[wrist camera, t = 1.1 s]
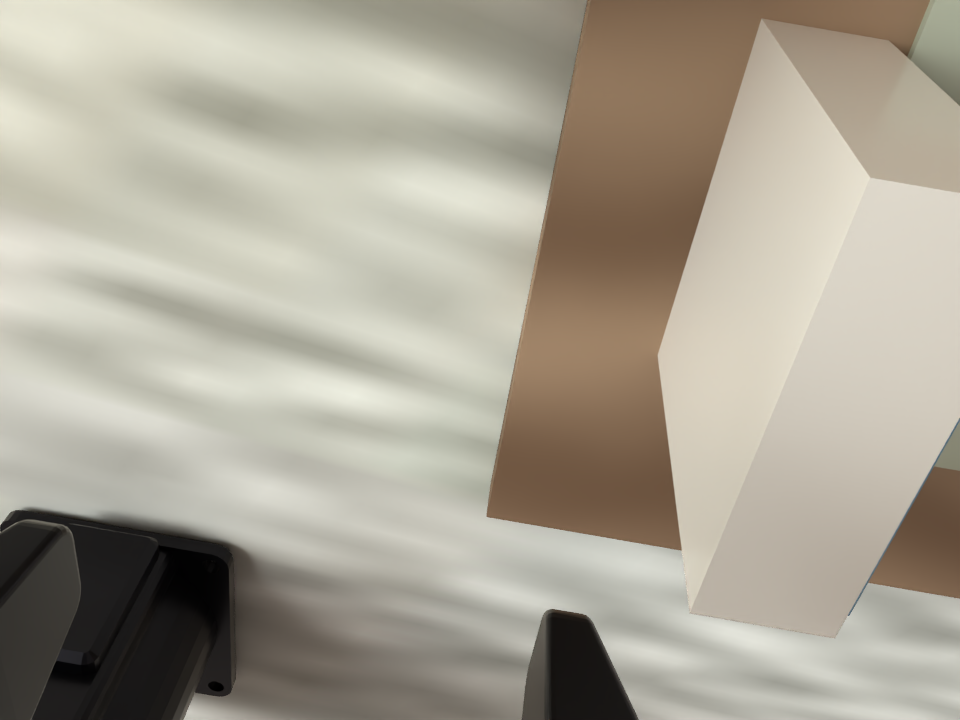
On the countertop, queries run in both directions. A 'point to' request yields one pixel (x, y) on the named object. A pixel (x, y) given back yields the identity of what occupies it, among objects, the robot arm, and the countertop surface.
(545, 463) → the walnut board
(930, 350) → the glazed tile
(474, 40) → the countertop surface
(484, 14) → the countertop surface
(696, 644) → the countertop surface
